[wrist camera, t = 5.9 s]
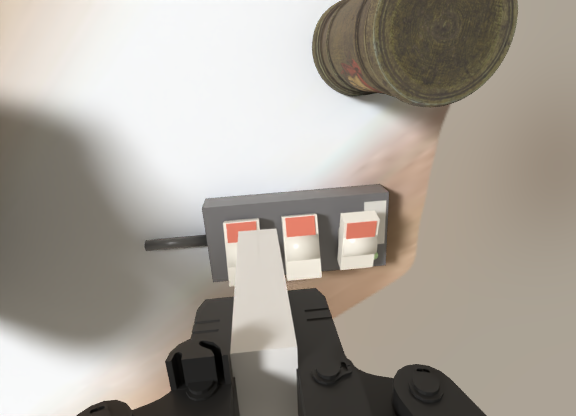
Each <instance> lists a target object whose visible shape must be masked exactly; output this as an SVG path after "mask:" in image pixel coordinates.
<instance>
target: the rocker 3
mask: <svg viewBox="0 0 576 416" xmlns="http://www.w3.org/2000/svg"><path fill="white" fill-rule="evenodd" d="M379 221H380V219H379V217H378V215H377V213H376V211H375V210H373V211H362V212H350V213H341V215H340V227H339V229H338V258H337V260H338V264H339V267H340V270H347V269H357V268H367V267H373V261H374V254H375V253H376V252H377V235H378V228H379Z"/></svg>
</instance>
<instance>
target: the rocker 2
mask: <svg viewBox="0 0 576 416" xmlns="http://www.w3.org/2000/svg"><path fill="white" fill-rule="evenodd" d="M281 218H282V230H283V242H284V254H285V266H286V277H287V281H291V280H301V279H311V278H321V277H322V273H321V260H320V247H319V234H318V221H317V214H315V213H312V214H301V215H289V216H281Z"/></svg>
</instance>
